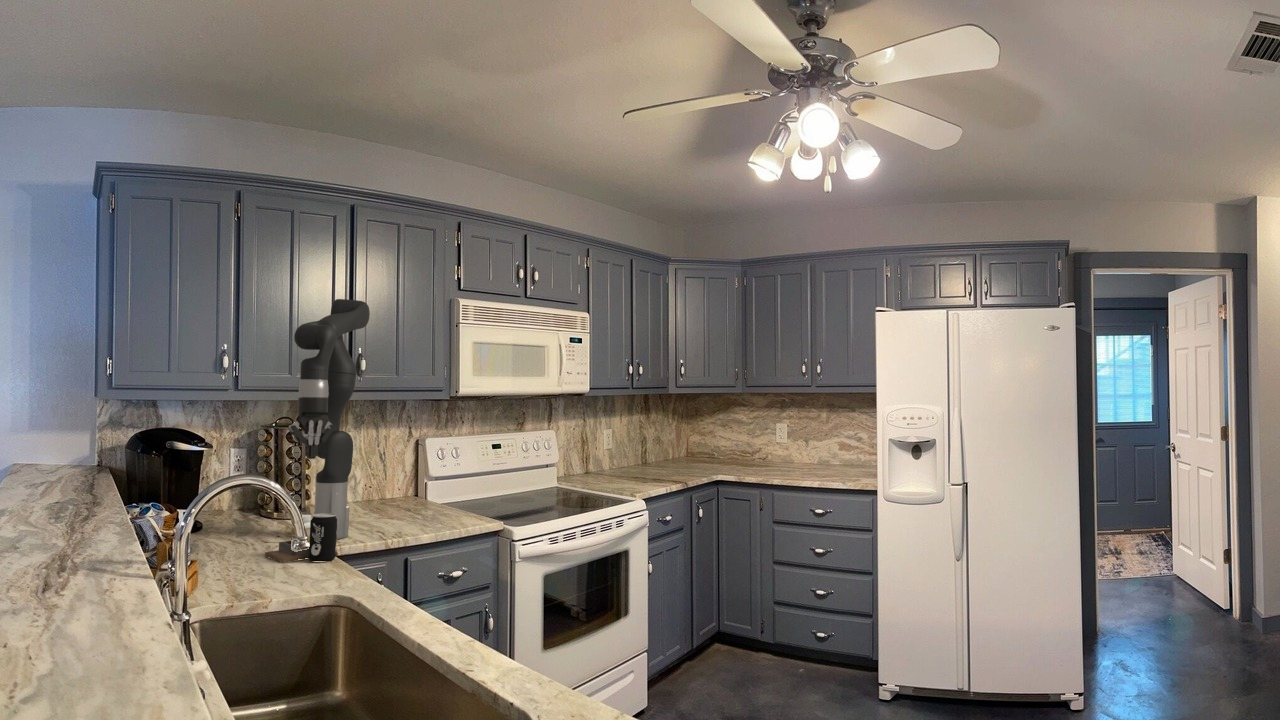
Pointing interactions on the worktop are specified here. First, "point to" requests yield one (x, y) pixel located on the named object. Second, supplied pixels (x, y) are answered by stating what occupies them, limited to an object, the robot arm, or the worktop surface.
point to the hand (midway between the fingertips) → (311, 458)
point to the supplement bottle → (306, 523)
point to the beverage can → (323, 537)
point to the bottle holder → (287, 553)
